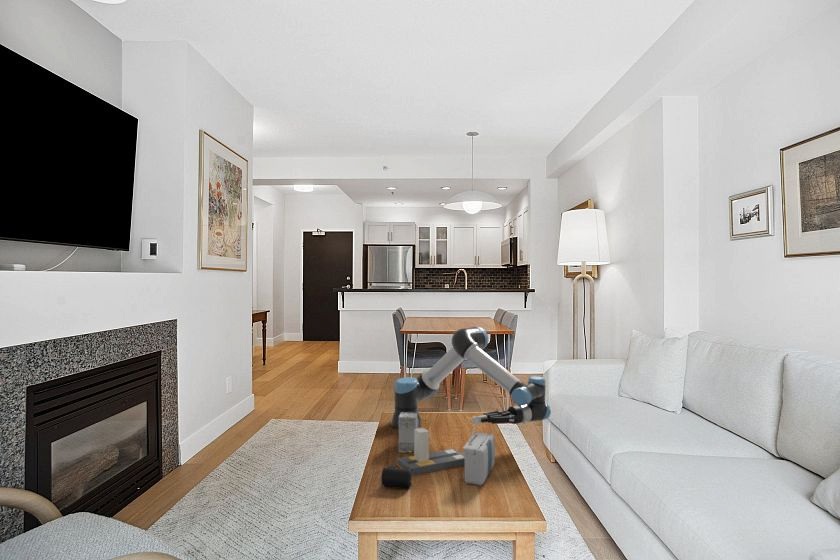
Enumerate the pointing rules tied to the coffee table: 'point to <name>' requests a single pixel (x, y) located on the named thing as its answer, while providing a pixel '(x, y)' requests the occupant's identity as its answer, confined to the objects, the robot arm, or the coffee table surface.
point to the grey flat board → (433, 461)
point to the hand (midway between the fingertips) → (473, 420)
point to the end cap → (396, 477)
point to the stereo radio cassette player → (479, 457)
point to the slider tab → (421, 445)
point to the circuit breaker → (407, 431)
